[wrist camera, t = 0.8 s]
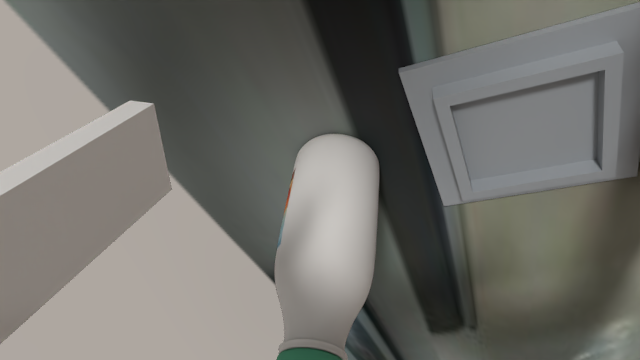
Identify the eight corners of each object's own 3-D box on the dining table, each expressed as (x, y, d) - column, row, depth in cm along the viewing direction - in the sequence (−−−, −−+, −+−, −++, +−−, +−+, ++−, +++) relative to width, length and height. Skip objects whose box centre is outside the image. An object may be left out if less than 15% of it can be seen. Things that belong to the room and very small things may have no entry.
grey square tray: (398, 68, 34) (398, 84, 32) (652, -2, 28) (665, 14, 26) (443, 201, 44) (444, 217, 43) (634, 170, 38) (643, 188, 37)
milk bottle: (305, 120, 39) (255, 352, 25) (391, 143, 39) (387, 380, 26) (290, 178, 44) (242, 392, 31) (365, 196, 45) (350, 413, 32)
